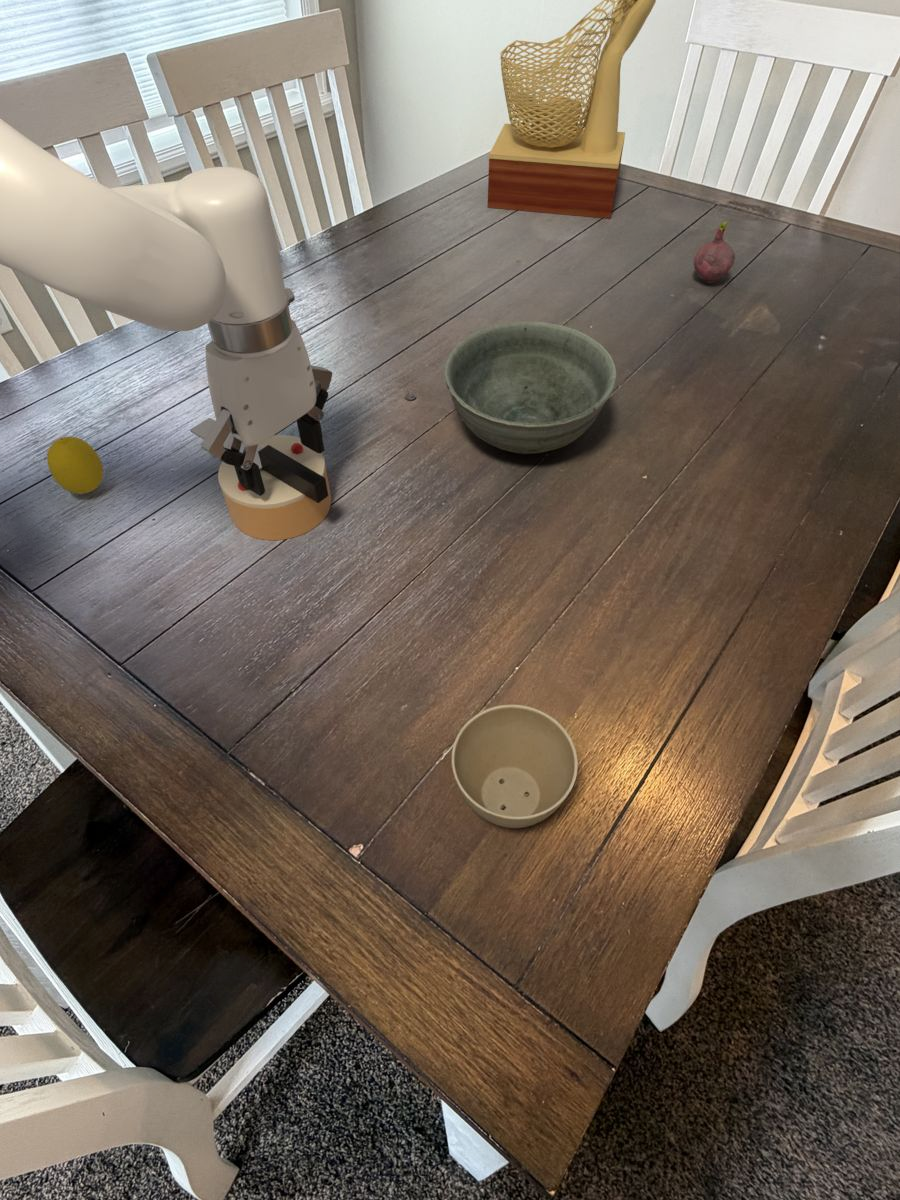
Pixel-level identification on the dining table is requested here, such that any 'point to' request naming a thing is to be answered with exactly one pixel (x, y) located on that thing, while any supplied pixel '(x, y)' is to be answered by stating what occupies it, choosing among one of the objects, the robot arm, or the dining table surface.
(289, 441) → the cake
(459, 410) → the bowl
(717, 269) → the vegetable
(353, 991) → the dining table surface
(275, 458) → the knife
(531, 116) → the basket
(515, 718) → the flower pot
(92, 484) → the lemon
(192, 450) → the dining table surface
